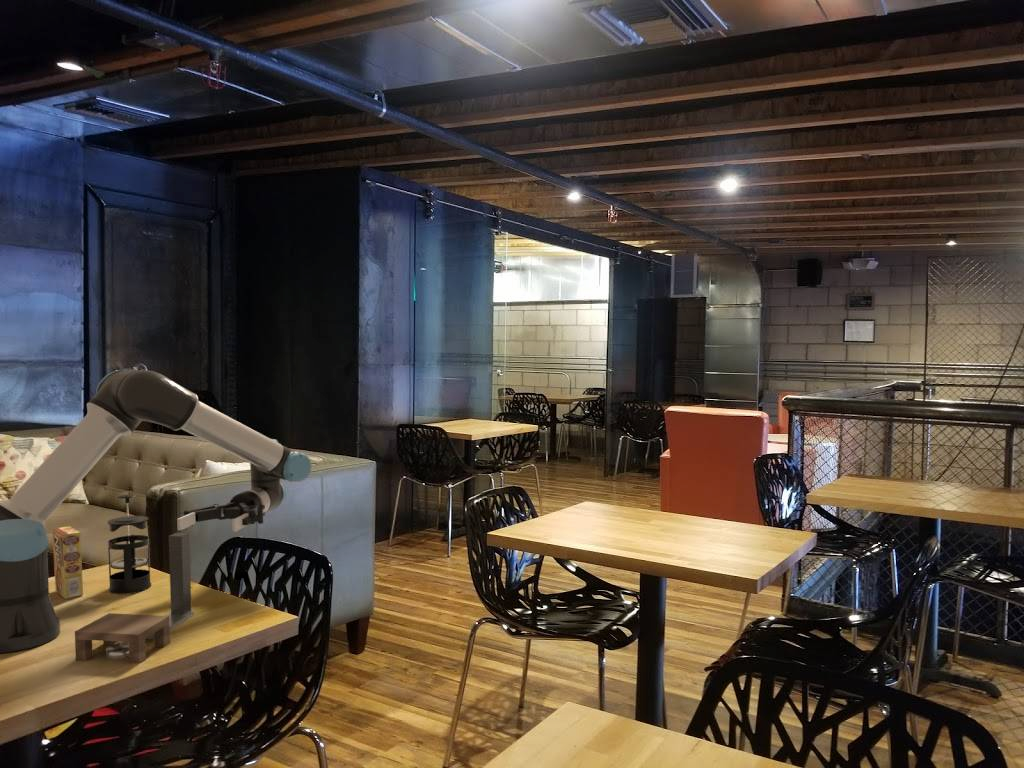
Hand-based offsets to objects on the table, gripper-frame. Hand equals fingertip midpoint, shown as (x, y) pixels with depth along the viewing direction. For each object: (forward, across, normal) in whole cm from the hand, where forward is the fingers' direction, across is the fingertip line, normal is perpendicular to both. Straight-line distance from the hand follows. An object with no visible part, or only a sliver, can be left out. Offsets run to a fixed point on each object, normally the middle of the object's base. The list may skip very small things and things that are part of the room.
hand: (206, 525), depth 182 cm
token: (+32, 0, -17) cm, 37 cm away
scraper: (+17, 0, -17) cm, 24 cm away
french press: (-6, +24, -18) cm, 30 cm away
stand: (+31, 0, -17) cm, 35 cm away
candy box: (0, +36, -17) cm, 40 cm away
